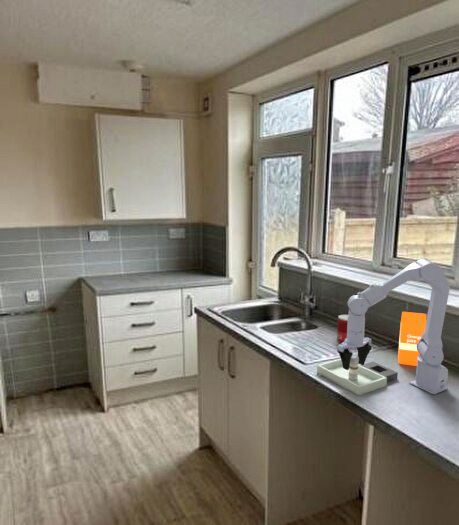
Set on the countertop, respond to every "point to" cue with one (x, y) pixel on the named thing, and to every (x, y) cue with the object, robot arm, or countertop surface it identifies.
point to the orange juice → (410, 337)
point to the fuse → (353, 368)
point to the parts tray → (361, 386)
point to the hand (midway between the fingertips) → (353, 366)
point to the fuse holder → (382, 371)
